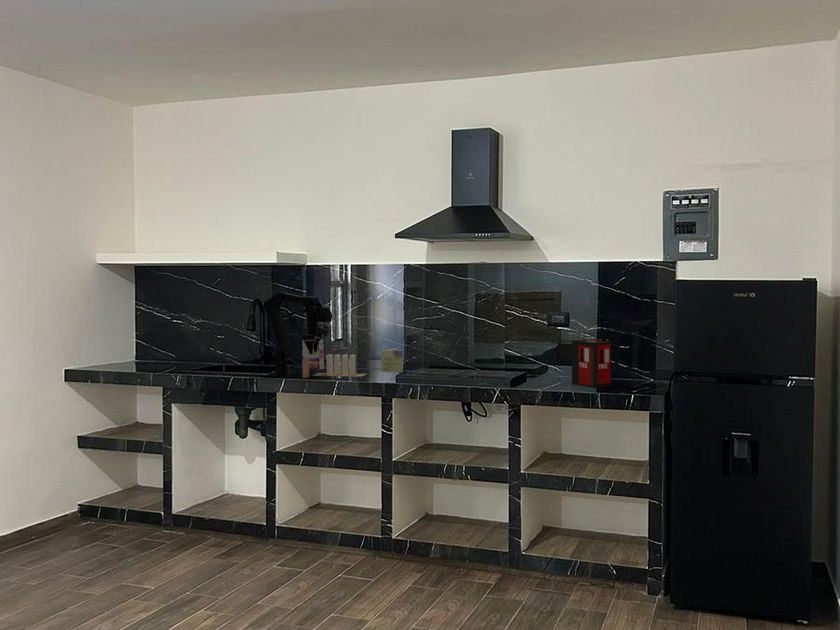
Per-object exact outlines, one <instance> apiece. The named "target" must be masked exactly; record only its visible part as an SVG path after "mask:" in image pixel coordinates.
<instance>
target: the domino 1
mask: <svg viewBox="0 0 840 630" xmlns="http://www.w3.org/2000/svg"><path fill="white" fill-rule="evenodd" d="M301 361H302V362H301V363H302V364H301V365H302V366H301V367H302V378H305V379H306V378H309V377H310V369H309V358H305V359H303V358H301Z"/></svg>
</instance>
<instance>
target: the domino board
mask: <svg viewBox="0 0 840 630" xmlns="http://www.w3.org/2000/svg"><path fill="white" fill-rule="evenodd" d="M366 375H367V373H356V375H353V376H352V377H358V378H359V377H360V378H361V377H364V376H366ZM311 376H312V377H313V376H314V377H351V376H350V373H348V375H345V376H344V375H342V373H341V374H340V375H334V372H333V374H332V375H327V372H325V373H324V372H318V373H316V374H312V375H311Z"/></svg>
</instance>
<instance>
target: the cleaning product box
mask: <svg viewBox="0 0 840 630" xmlns="http://www.w3.org/2000/svg"><path fill="white" fill-rule="evenodd" d="M612 344H613V343H612V341H605V340H597V339H596V340H595V339H575V340H574V339H573V340H571V384H572V385H575V386H581V387H587V388H588V387H589V388H594V389H601V388H612V386H613V385H612V384H613V381H612V379H613V377H612V376H613V375H612V372H613V371H612V369H613V367H612V365H613V364H612V363H613V360H612V359H613V358H612V357H613V356H612V355H613V354H612V353H613V345H612Z"/></svg>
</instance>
